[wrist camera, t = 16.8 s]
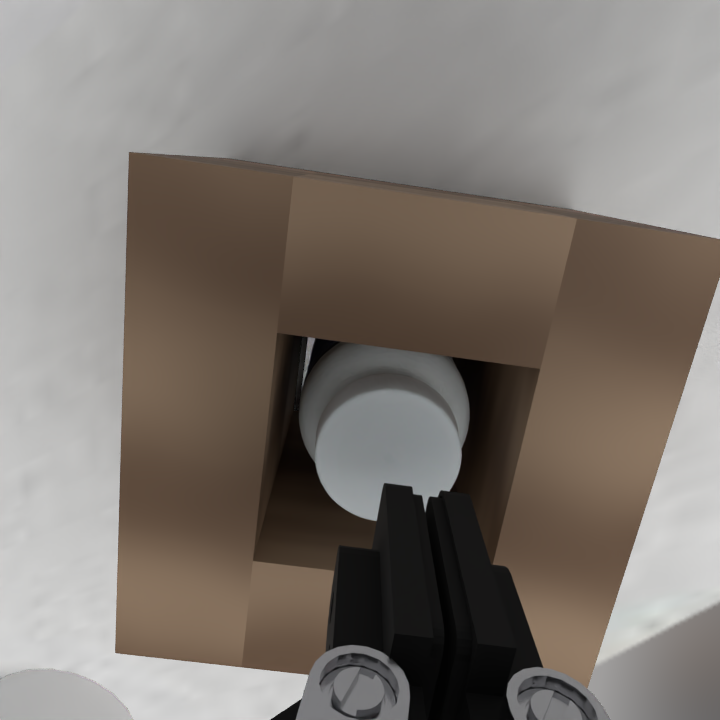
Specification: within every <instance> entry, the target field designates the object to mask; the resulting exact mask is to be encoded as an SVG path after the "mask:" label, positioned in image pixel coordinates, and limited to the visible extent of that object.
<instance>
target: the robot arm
mask: <svg viewBox="0 0 720 720" xmlns="http://www.w3.org/2000/svg"><path fill="white" fill-rule="evenodd" d="M271 720H610V718H609V716H608V714H607V713H606V711H605V709H604V707H603V706H602V705H601V703H600V702H599V701H598V699H597V698H596V697H595V696H594V694H593V693H591V692H590V691H589V690H588V689H587V688H586V687H585V686H584V685H582V684H581V683H580V682H578V681H577V680H575V679H573V678H571V677H570V676H568V675H566V674H564V673H561V672H558V671H555V670H553V669H548V668H543V665H542V662H541V659H540V656H539V653H538V650H537V648H536V645H535V642H534V639H533V636H532V633H531V630H530V627H529V624H528V622H527V619H526V616H525V613H524V610H523V607H522V604H521V601H520V599H519V596H518V593H517V590H516V587H515V584H514V581H513V578H512V575H511V573H510V571H509V569H508V568H507V567H506V566H500V565H492V564H491V562H490V559H489V556H488V553H487V549H486V546H485V543H484V540H483V536H482V533H481V530H480V526H479V523H478V520H477V517H476V513H475V510H474V507H473V504H472V500H471V497H470V495H469V494H466V493H458V492H450V491H443V490H441V491H440V492H439V495H438V497H432V496H430V497H429V499H428V502H427V506H426V511H425V509H424V503H423V497H422V495H416V494H413V488H412V487H411V486H404V485H397V484H389V483H384V485H383V489H382V494H381V499H380V505H379V511H378V517H377V522H376V528H375V534H374V539H373V545H372V549H366V548H358V547H350V546H342V545H339V547H338V551H337V557H336V564H335V570H334V577H333V584H332V591H331V598H330V607H329V616H328V626H327V638H326V651H325V653H324V654H323V655H322V656H321V657H320V658H319V659H317V660H316V661H315V663H314V665H313V667H312V669H311V671H310V673H309V677H308V680H307V683H306V687H305V690H304V693H303V697H302V699H301V700H299V701H298V702H296V703H295V704H293V705H292V706H290V707H289V708H287V709H286V710H284V711H283V712H281V713H280V714H278V715H277V716H275V717H274V718H272V719H271Z"/></svg>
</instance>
